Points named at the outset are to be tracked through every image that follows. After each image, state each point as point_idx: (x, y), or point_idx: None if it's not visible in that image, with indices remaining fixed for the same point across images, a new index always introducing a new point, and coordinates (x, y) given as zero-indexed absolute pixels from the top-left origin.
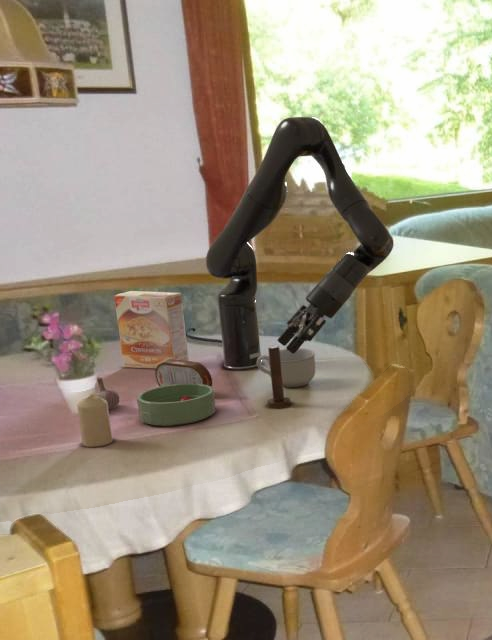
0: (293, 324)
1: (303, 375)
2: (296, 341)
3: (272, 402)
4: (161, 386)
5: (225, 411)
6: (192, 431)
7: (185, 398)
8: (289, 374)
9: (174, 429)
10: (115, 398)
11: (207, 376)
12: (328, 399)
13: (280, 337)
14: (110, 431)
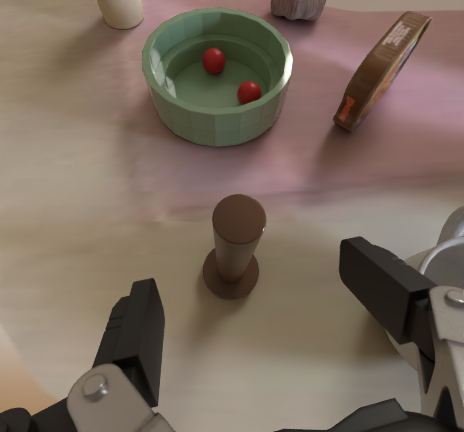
0: (436, 345)
1: (400, 347)
2: (102, 348)
3: (215, 254)
4: (281, 35)
5: (222, 165)
6: (114, 117)
7: (245, 85)
8: None
9: (141, 94)
10: (287, 3)
11: (353, 104)
12: (242, 415)
13: (356, 248)
14: (112, 11)
